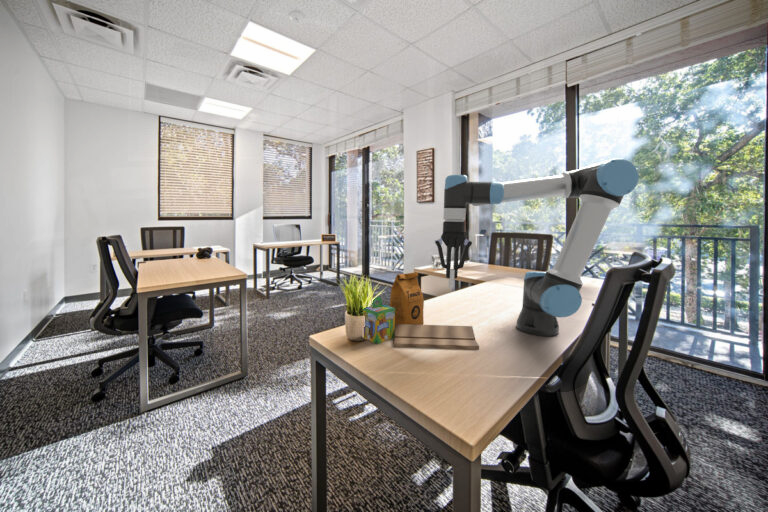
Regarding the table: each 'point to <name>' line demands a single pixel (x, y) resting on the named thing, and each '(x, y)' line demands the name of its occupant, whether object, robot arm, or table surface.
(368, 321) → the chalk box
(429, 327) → the plank
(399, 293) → the coffee package
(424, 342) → the wooden board
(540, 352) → the table surface
